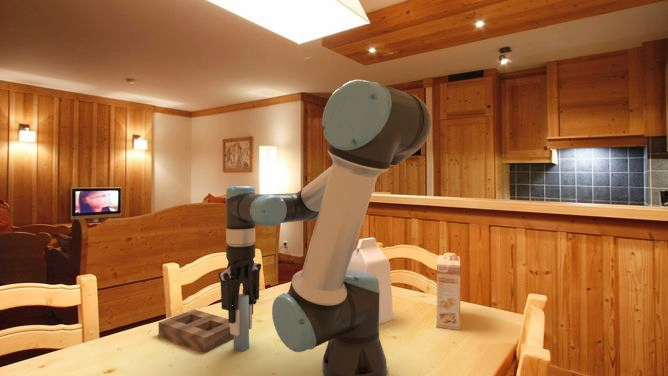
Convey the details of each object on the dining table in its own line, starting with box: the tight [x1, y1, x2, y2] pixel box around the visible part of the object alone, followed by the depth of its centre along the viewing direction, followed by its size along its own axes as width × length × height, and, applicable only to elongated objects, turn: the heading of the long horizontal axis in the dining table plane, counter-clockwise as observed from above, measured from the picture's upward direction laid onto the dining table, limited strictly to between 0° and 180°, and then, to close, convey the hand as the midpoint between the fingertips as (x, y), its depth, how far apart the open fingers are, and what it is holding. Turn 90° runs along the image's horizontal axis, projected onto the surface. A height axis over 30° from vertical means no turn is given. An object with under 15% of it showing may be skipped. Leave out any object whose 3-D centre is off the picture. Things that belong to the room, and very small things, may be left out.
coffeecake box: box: [436, 254, 461, 331], centre depth 114 cm, size 15×7×20 cm, turn 161°
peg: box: [233, 293, 250, 352], centre depth 95 cm, size 4×4×14 cm
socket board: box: [158, 308, 234, 354], centre depth 103 cm, size 20×12×4 cm, turn 59°
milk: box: [347, 237, 394, 325], centre depth 115 cm, size 12×12×26 cm
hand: (241, 330), depth 95 cm, fingers closed on peg, 4 cm apart
